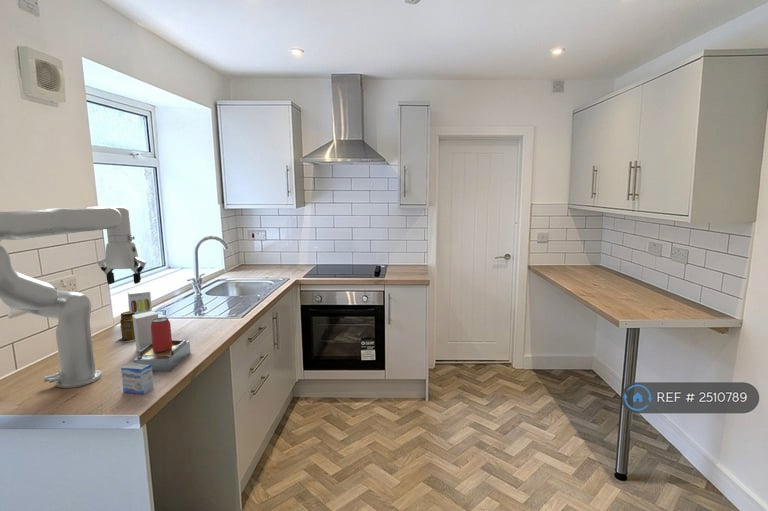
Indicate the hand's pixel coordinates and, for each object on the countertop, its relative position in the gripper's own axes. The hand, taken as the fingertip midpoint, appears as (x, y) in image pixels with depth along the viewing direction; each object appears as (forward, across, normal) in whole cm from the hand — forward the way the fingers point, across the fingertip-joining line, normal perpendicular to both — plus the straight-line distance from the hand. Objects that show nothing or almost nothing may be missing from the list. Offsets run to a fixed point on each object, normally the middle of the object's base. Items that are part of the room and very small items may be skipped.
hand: (124, 283), depth 155 cm
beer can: (+25, -15, +6) cm, 30 cm away
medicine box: (+31, -17, +28) cm, 45 cm away
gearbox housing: (+30, -15, +6) cm, 34 cm away
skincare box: (+31, -3, -8) cm, 32 cm away
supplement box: (+31, +19, -44) cm, 57 cm away
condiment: (+31, +13, -22) cm, 40 cm away
